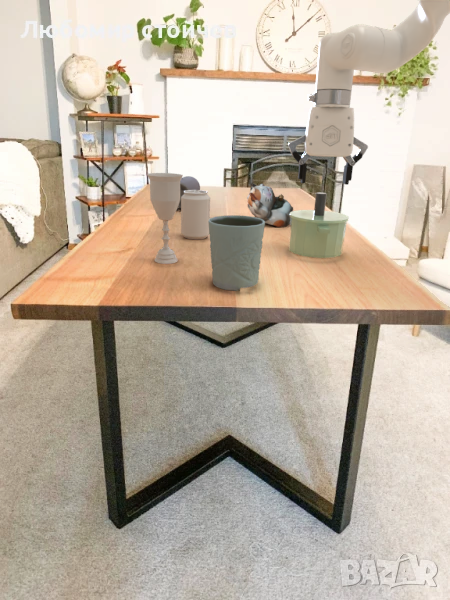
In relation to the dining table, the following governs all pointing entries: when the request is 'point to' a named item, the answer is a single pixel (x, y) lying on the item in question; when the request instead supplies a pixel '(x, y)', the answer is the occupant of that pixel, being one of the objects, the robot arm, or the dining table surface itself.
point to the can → (195, 214)
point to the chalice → (165, 208)
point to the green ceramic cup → (235, 250)
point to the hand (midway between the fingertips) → (324, 183)
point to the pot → (316, 239)
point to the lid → (319, 213)
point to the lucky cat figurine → (269, 206)
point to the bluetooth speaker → (188, 186)
